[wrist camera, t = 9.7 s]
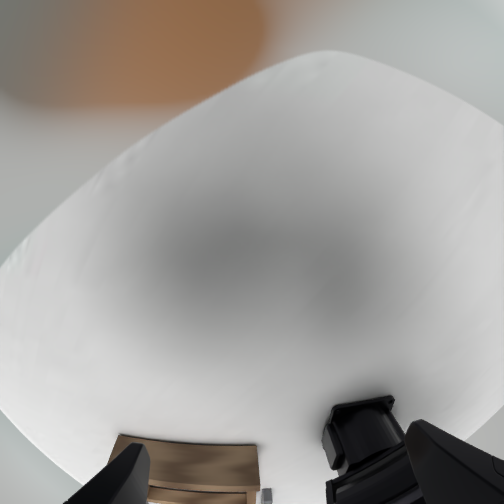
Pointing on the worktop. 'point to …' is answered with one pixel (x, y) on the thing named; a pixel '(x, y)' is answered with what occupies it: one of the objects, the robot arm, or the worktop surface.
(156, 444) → the brown wooden frame
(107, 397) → the worktop surface
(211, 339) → the worktop surface
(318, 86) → the worktop surface
